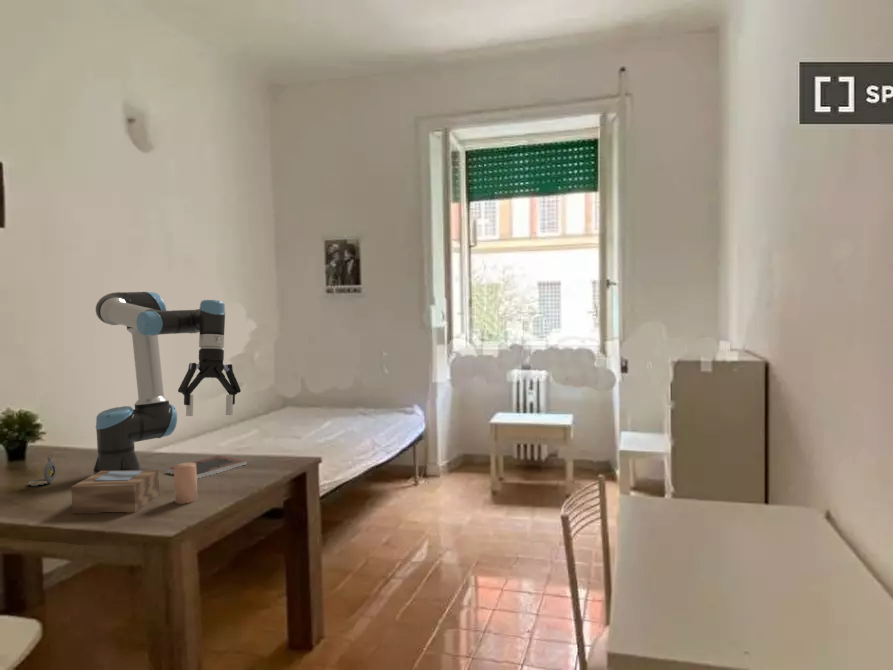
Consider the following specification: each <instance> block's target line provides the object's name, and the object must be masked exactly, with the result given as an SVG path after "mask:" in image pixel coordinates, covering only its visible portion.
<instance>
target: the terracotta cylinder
mask: <svg viewBox="0 0 893 670" xmlns="http://www.w3.org/2000/svg"><path fill="white" fill-rule="evenodd" d="M173 467H174V475H173V479H174V480H173V483H174V485H173V486H174V502H175V504H177V503H178V505H186V504H185V503H188V504H191V502H193V503H194V501H195V502H197V501H198V500H197V499H199V498H198V479H197V471H196V463H190V462H181V463H177V464H174V465H173ZM196 500H197V501H196Z"/></svg>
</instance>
